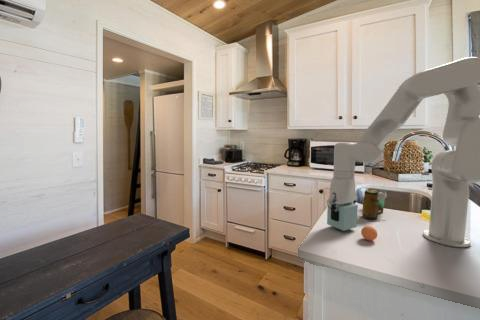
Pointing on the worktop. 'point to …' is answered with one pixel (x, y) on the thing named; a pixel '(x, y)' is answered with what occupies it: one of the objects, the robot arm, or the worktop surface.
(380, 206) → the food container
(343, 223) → the mint green cube
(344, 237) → the worktop surface
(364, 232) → the ball
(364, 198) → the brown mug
